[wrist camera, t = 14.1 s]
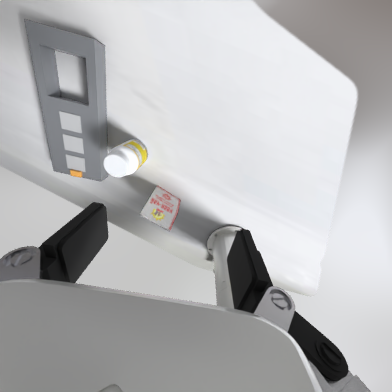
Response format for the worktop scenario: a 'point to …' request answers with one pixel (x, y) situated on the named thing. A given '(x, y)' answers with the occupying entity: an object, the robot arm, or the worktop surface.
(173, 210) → the white gable-top box
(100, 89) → the power strip
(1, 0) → the worktop surface
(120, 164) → the supplement bottle
